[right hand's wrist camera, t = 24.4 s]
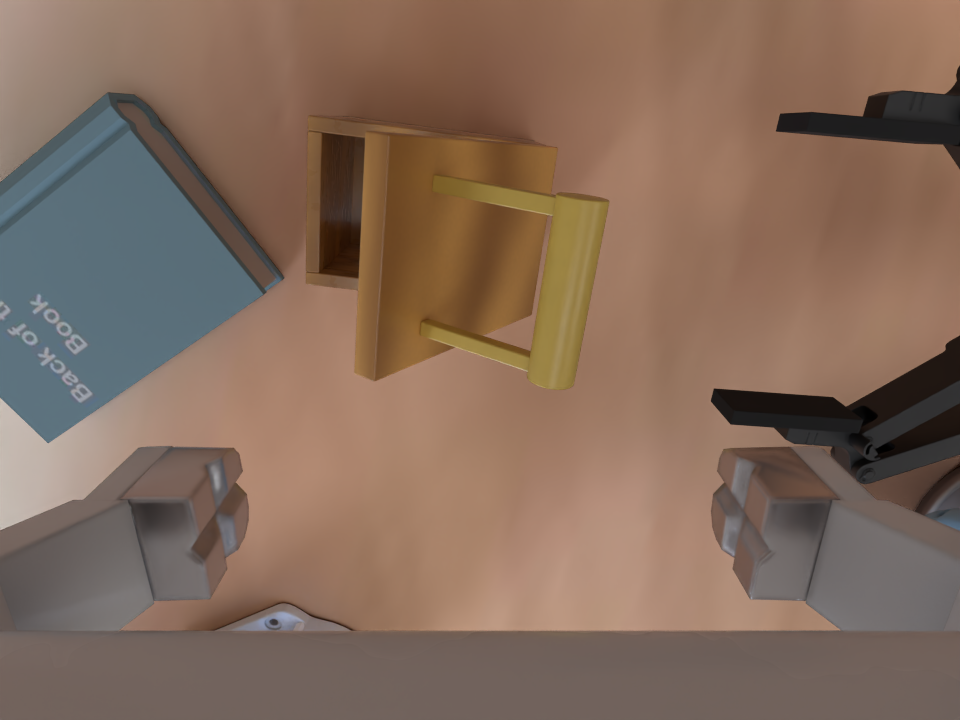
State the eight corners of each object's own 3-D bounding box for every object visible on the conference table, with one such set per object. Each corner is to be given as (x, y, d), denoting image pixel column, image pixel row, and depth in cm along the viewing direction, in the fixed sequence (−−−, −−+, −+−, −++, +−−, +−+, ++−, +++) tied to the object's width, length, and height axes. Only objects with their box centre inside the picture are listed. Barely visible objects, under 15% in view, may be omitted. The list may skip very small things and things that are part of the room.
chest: (341, 251, 48) (305, 284, 38) (346, 116, 44) (307, 114, 34) (514, 271, 48) (523, 310, 38) (533, 140, 45) (548, 145, 35)
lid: (353, 374, 26) (529, 445, 22) (364, 130, 22) (578, 162, 18) (515, 310, 38) (648, 349, 34) (540, 144, 34) (692, 166, 30)
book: (86, 415, 53) (48, 443, 48) (-65, 263, 48) (-124, 279, 43) (284, 277, 48) (263, 294, 44) (140, 95, 43) (99, 91, 39)
